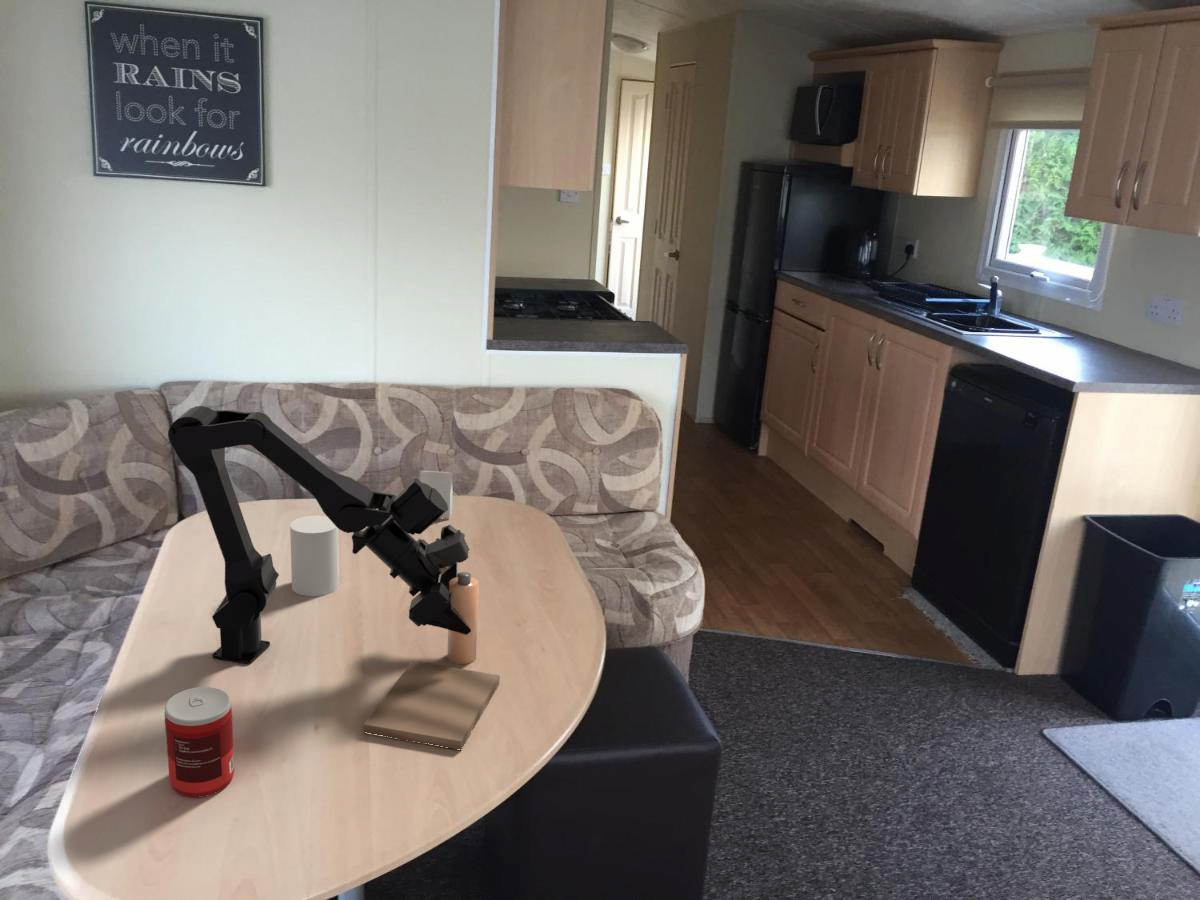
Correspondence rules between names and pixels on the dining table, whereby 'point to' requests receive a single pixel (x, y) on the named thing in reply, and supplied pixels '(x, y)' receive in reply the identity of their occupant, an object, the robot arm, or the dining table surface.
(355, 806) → the dining table surface
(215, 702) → the canned food
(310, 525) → the white cylinder
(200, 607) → the dining table surface
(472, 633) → the peach bottle with cap
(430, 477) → the light grey box
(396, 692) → the cardboard sheet
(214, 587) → the dining table surface
